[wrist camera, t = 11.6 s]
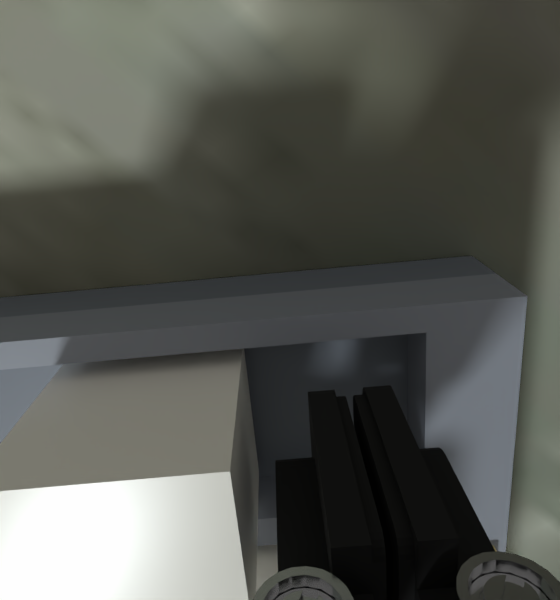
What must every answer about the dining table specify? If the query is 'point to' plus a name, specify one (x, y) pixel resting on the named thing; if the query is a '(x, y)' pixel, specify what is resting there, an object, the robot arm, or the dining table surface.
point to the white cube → (133, 483)
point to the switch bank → (311, 356)
